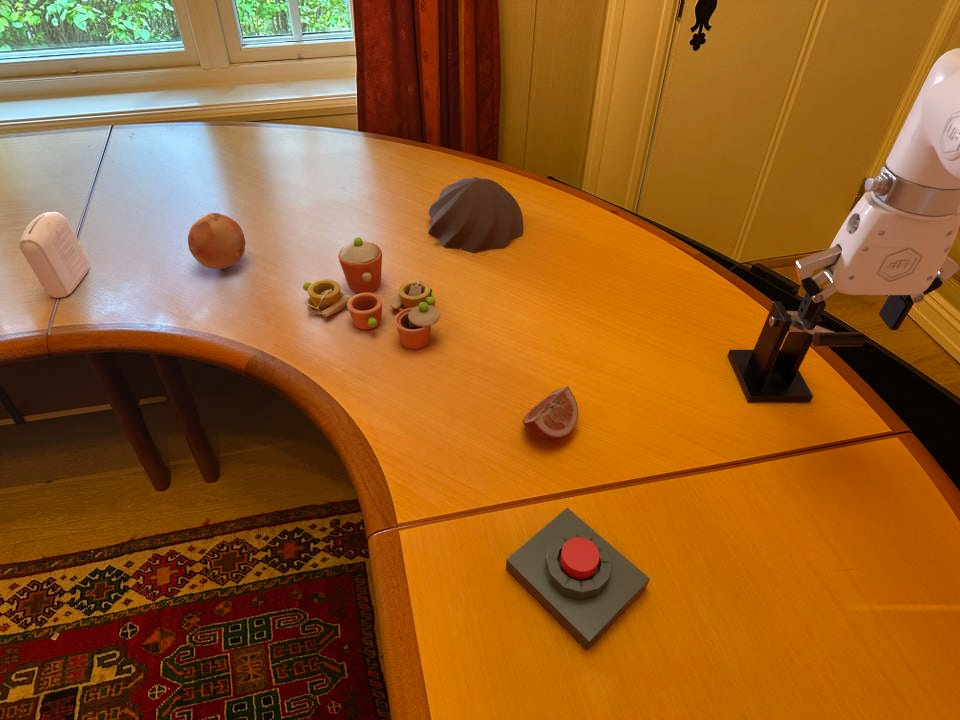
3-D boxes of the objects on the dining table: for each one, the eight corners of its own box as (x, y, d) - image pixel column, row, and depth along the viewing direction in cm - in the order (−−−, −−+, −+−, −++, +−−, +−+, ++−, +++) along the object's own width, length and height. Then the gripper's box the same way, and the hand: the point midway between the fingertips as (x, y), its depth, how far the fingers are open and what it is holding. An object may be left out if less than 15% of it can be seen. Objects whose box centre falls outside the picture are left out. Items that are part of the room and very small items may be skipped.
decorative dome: (505, 261, 114) (506, 213, 107) (410, 239, 119) (406, 193, 112) (536, 213, 127) (540, 168, 120) (450, 196, 132) (449, 151, 125)
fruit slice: (547, 399, 87) (549, 375, 84) (586, 422, 84) (591, 397, 81) (512, 434, 83) (513, 409, 79) (553, 459, 80) (556, 434, 76)
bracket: (810, 402, 87) (847, 335, 78) (747, 402, 87) (777, 335, 78) (784, 355, 94) (815, 289, 86) (727, 355, 94) (752, 289, 86)
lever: (864, 350, 72) (867, 331, 72) (818, 350, 72) (821, 331, 72) (806, 327, 85) (808, 311, 84) (767, 327, 85) (769, 310, 84)
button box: (646, 588, 67) (653, 570, 64) (586, 650, 62) (591, 634, 59) (565, 517, 73) (568, 498, 70) (505, 569, 68) (506, 550, 66)
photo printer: (71, 265, 112) (37, 205, 104) (94, 265, 112) (63, 204, 104) (45, 299, 105) (7, 237, 96) (70, 298, 105) (35, 236, 96)
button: (605, 563, 65) (607, 555, 64) (580, 587, 63) (582, 579, 62) (577, 538, 67) (578, 530, 66) (552, 560, 65) (553, 552, 64)
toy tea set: (293, 309, 103) (281, 261, 96) (353, 265, 112) (345, 218, 106) (419, 364, 93) (414, 314, 86) (472, 310, 103) (471, 262, 96)
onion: (210, 248, 117) (193, 201, 110) (259, 251, 116) (246, 204, 109) (187, 277, 110) (167, 228, 103) (240, 280, 109) (224, 232, 102)
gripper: (847, 208, 57) (784, 343, 69) (1032, 208, 57) (936, 344, 69) (815, 171, 62) (762, 302, 74) (983, 171, 62) (903, 303, 74)
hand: (846, 322), depth 71 cm, fingers open, 9 cm apart
